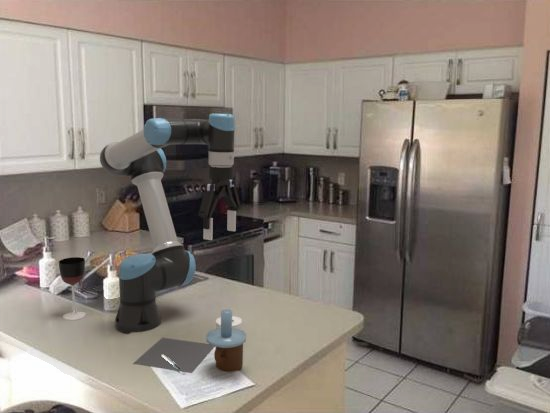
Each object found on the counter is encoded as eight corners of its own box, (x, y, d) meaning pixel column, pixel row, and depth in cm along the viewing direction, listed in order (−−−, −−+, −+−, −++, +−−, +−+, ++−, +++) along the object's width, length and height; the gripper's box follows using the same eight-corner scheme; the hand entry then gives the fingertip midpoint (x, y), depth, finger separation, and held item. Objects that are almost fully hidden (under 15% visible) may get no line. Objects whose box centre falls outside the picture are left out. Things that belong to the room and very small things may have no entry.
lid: (200, 344, 134) (200, 316, 133) (214, 328, 145) (214, 302, 143) (239, 350, 132) (239, 321, 130) (250, 333, 142) (251, 306, 141)
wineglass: (56, 318, 173) (53, 262, 169) (74, 309, 181) (72, 256, 177) (73, 322, 170) (71, 265, 166) (92, 313, 178) (90, 259, 174)
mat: (132, 365, 141) (132, 363, 141) (162, 339, 158) (162, 337, 158) (191, 374, 137) (191, 372, 137) (215, 346, 154) (215, 345, 154)
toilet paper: (225, 330, 166) (225, 311, 165) (246, 342, 158) (247, 321, 157) (204, 337, 161) (205, 317, 159) (226, 349, 153) (226, 328, 151)
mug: (228, 383, 133) (228, 350, 131) (203, 377, 136) (203, 345, 134) (247, 363, 144) (247, 333, 142) (223, 358, 147) (223, 328, 145)
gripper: (208, 170, 137) (208, 245, 140) (251, 163, 159) (250, 228, 163) (186, 168, 140) (186, 241, 144) (231, 162, 162) (230, 226, 166)
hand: (220, 235), depth 153 cm, fingers open, 13 cm apart
